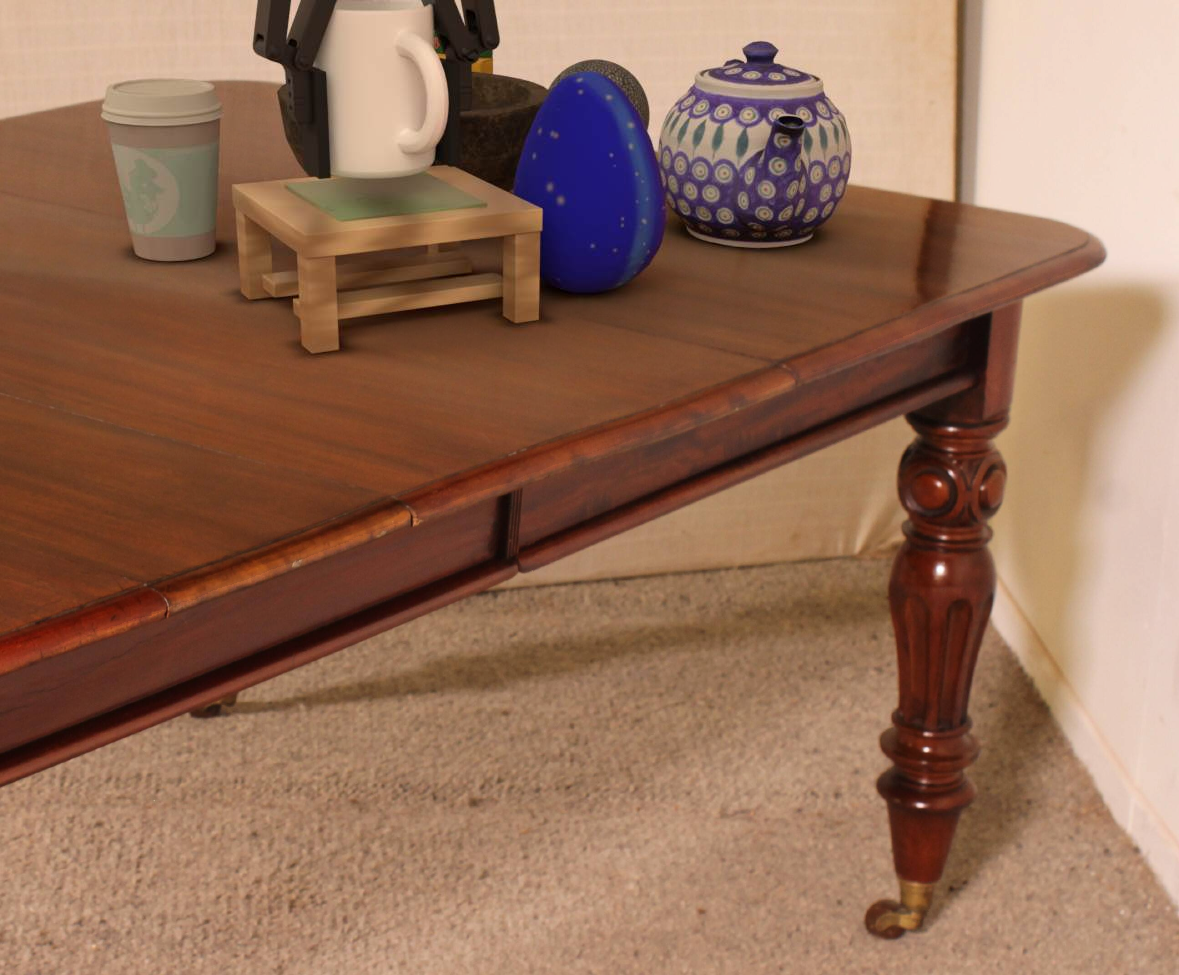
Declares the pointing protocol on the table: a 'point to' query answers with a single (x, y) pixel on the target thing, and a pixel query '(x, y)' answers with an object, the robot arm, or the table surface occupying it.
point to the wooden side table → (384, 245)
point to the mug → (382, 88)
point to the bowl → (474, 127)
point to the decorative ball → (618, 76)
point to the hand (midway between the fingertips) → (383, 167)
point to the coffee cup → (167, 163)
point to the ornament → (592, 186)
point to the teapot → (754, 153)
